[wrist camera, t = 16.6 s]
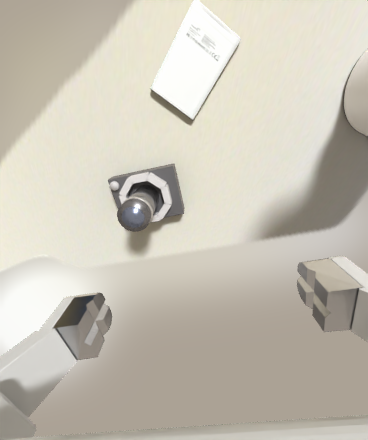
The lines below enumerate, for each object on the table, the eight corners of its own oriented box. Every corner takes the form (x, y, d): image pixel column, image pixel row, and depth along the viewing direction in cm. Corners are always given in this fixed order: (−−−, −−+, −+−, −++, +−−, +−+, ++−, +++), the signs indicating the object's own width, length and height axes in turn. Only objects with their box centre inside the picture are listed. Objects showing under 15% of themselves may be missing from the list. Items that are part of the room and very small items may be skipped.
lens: (156, 182, 35) (144, 198, 26) (162, 207, 37) (153, 229, 28) (130, 187, 35) (111, 204, 27) (138, 211, 37) (122, 234, 29)
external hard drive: (151, 90, 32) (194, 3, 28) (192, 120, 34) (239, 42, 29) (149, 88, 31) (194, -5, 26) (193, 120, 32) (242, 38, 28)
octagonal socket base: (174, 163, 36) (172, 167, 32) (184, 208, 40) (183, 216, 36) (113, 176, 38) (104, 181, 34) (128, 218, 41) (121, 228, 37)
